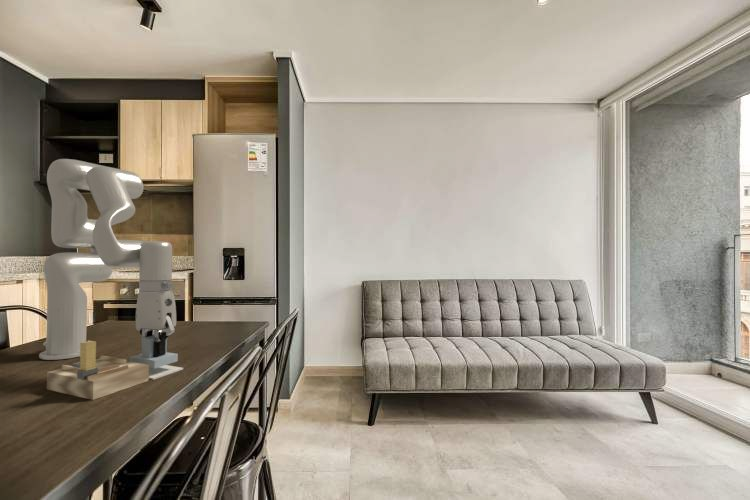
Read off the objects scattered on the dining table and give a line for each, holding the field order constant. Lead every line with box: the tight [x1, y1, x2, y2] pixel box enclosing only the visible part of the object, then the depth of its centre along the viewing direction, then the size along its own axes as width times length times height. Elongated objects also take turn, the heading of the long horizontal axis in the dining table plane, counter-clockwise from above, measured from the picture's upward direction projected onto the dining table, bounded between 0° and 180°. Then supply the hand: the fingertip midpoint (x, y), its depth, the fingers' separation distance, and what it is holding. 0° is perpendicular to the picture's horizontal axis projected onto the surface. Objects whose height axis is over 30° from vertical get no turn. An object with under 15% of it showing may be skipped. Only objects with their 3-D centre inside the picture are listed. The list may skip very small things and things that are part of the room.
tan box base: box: [46, 355, 149, 400], centre depth 89 cm, size 16×13×5 cm
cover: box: [129, 334, 179, 369], centre depth 99 cm, size 9×7×7 cm
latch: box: [71, 340, 98, 380], centre depth 82 cm, size 5×3×8 cm, turn 70°
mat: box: [148, 364, 184, 381], centre depth 99 cm, size 11×9×1 cm
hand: (154, 354), depth 99 cm, fingers closed on cover, 3 cm apart
